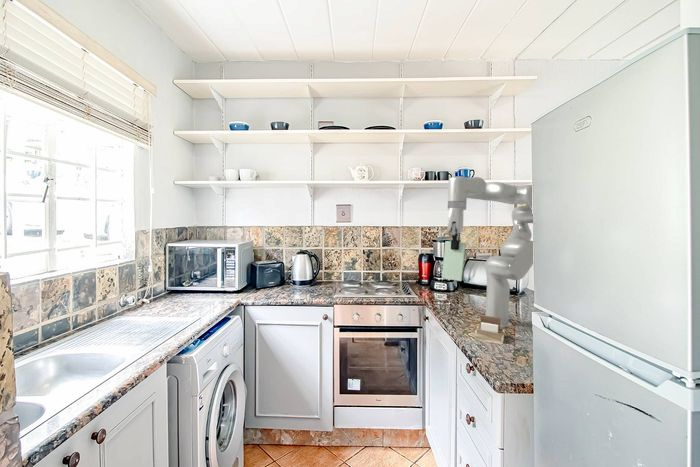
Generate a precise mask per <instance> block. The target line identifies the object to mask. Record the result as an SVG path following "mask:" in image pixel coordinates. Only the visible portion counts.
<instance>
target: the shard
mask: <svg viewBox="0 0 700 467" xmlns="http://www.w3.org/2000/svg"><path fill="white" fill-rule="evenodd" d="M467 324H470V325H474V326H475V325H476V326H477V323H476V322H474V321H467Z"/></svg>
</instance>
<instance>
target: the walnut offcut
mask: <svg viewBox="0 0 700 467" xmlns="http://www.w3.org/2000/svg"><path fill="white" fill-rule="evenodd" d="M481 322H484V323H490V324H496V325H498V331H500V318H497V317H490V316H486V315H485V314H484V315H483V314H481V315H480V322H479V323H480V328H481Z"/></svg>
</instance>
